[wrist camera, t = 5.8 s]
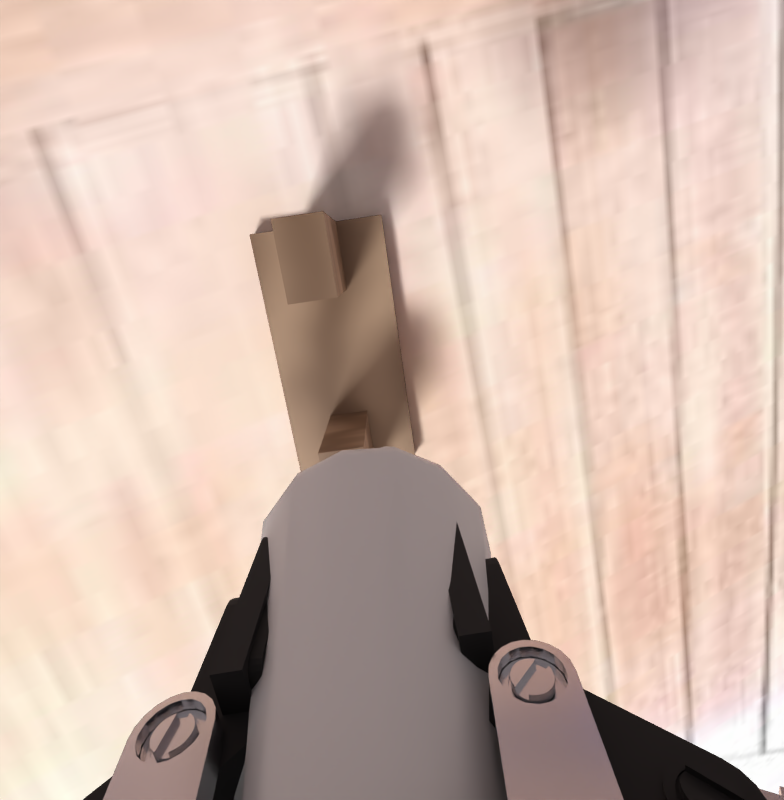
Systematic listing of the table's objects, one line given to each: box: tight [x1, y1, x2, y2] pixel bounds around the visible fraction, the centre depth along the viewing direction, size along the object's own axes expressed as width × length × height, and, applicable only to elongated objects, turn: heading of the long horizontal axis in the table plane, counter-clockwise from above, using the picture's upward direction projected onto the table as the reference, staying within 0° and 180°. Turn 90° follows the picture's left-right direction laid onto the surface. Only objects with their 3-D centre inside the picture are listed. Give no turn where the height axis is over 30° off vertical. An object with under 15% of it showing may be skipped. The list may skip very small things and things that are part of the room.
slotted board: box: [250, 211, 415, 472], centre depth 28 cm, size 8×16×8 cm, turn 8°
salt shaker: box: [234, 446, 507, 800], centre depth 8 cm, size 6×6×13 cm
